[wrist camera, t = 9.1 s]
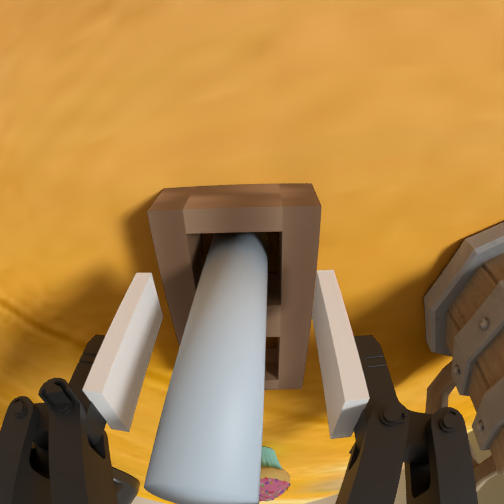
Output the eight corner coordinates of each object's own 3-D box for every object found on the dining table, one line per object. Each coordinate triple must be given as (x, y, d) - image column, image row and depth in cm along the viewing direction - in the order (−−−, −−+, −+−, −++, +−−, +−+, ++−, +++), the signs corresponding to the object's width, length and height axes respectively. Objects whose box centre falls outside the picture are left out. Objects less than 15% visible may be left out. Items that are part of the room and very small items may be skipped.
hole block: (197, 357, 24) (192, 388, 22) (163, 188, 17) (147, 211, 14) (299, 357, 24) (302, 388, 21) (311, 183, 17) (321, 206, 14)
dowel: (215, 265, 20) (161, 502, 8) (210, 217, 18) (127, 473, 6) (268, 265, 19) (259, 513, 7) (268, 217, 18) (257, 491, 6)
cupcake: (279, 463, 37) (280, 538, 27) (218, 459, 37) (212, 536, 26) (296, 441, 33) (301, 531, 23) (225, 436, 32) (218, 530, 22)
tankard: (489, 192, 16) (642, 355, 3) (555, 252, 18) (644, 367, 6) (345, 384, 26) (369, 540, 13) (434, 395, 28) (469, 511, 16)
